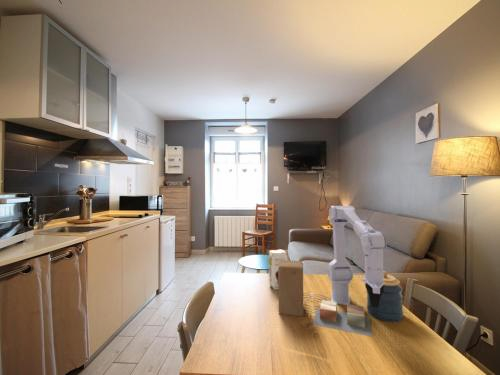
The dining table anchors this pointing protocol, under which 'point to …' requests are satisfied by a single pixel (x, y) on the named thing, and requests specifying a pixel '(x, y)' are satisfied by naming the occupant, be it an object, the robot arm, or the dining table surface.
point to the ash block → (328, 310)
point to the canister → (388, 301)
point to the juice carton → (275, 266)
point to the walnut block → (355, 315)
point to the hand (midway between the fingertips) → (374, 306)
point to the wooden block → (290, 288)
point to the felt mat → (343, 323)
